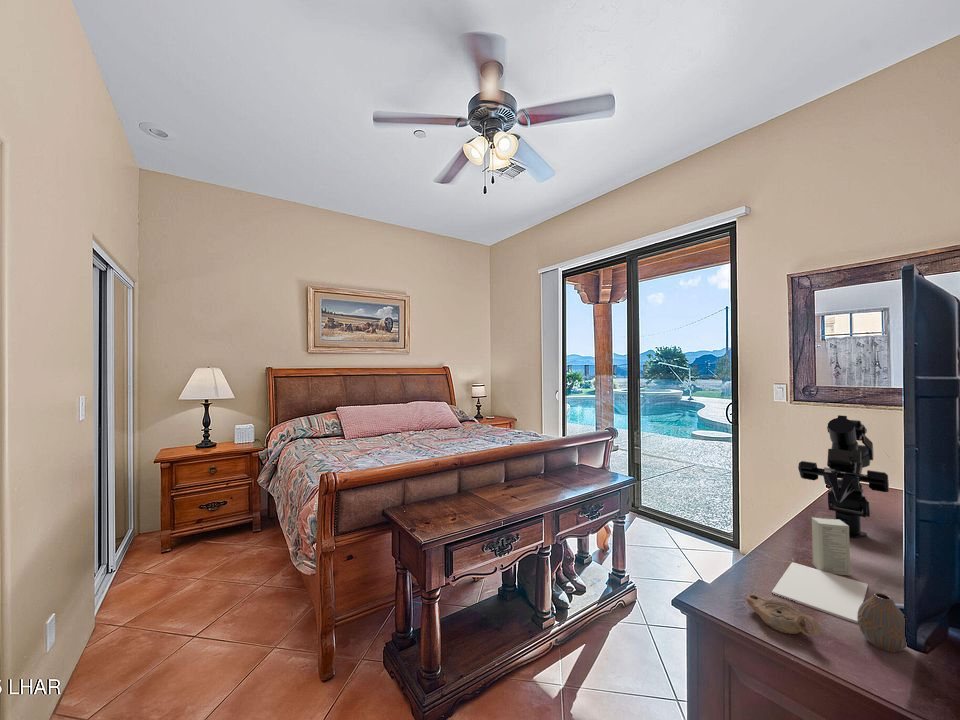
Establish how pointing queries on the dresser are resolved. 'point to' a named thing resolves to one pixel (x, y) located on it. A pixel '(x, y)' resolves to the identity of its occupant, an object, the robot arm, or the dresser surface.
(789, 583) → the notebook
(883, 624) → the vase
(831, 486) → the robot arm
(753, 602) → the oil lamp
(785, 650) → the dresser surface
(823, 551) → the skincare box
